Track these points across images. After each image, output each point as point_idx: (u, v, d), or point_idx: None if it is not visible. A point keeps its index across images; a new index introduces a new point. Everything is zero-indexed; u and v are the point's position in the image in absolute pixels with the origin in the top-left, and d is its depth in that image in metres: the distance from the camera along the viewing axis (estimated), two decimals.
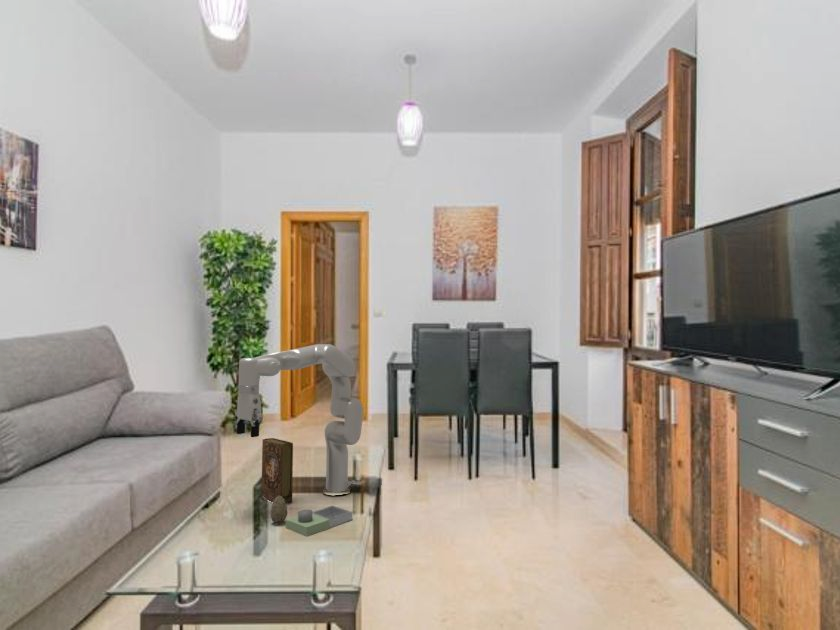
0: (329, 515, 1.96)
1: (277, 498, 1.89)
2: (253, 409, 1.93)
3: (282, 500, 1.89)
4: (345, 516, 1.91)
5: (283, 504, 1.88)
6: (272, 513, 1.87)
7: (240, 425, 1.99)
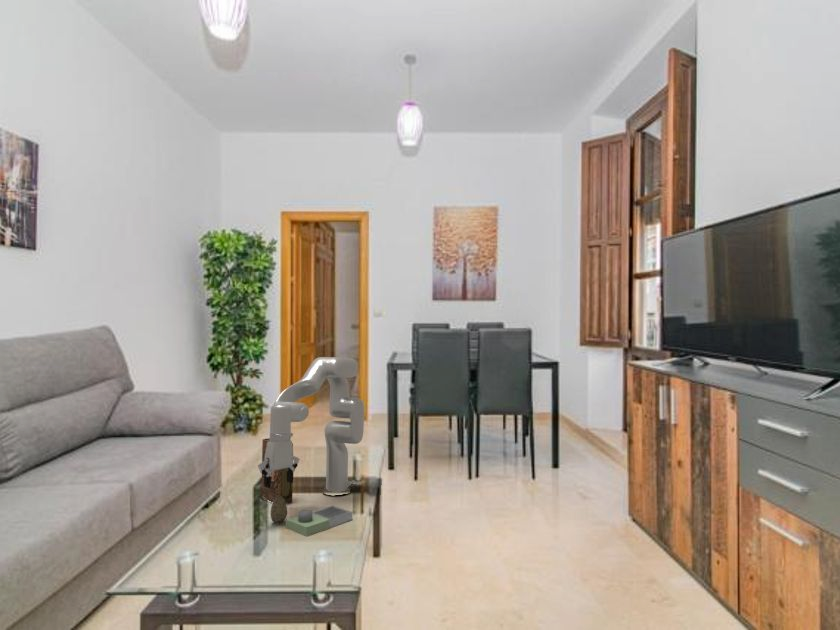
0: (329, 515, 1.96)
1: (277, 498, 1.89)
2: None
3: (282, 500, 1.89)
4: (345, 516, 1.91)
5: (283, 504, 1.88)
6: (272, 513, 1.87)
7: None
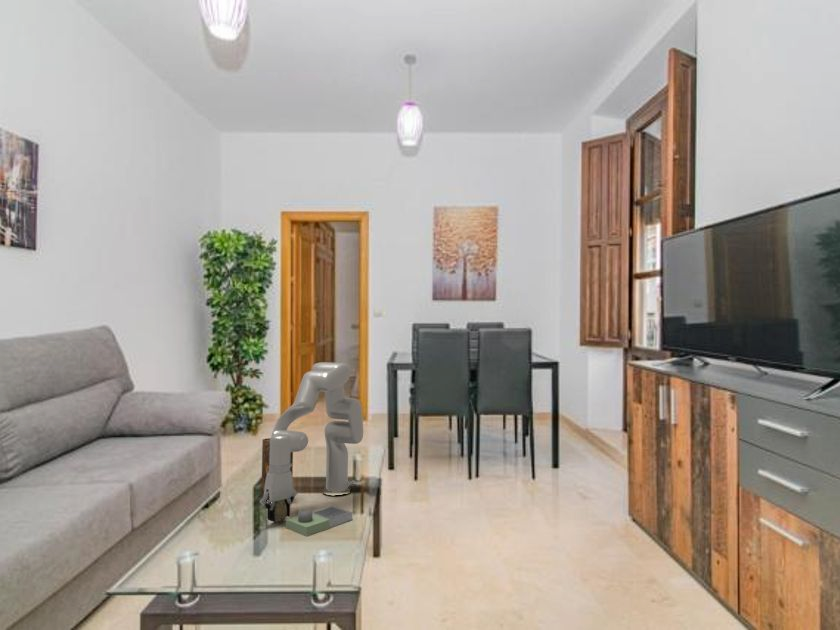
0: (329, 515, 1.96)
1: None
2: None
3: (282, 500, 1.89)
4: (345, 516, 1.91)
5: (283, 504, 1.88)
6: None
7: None
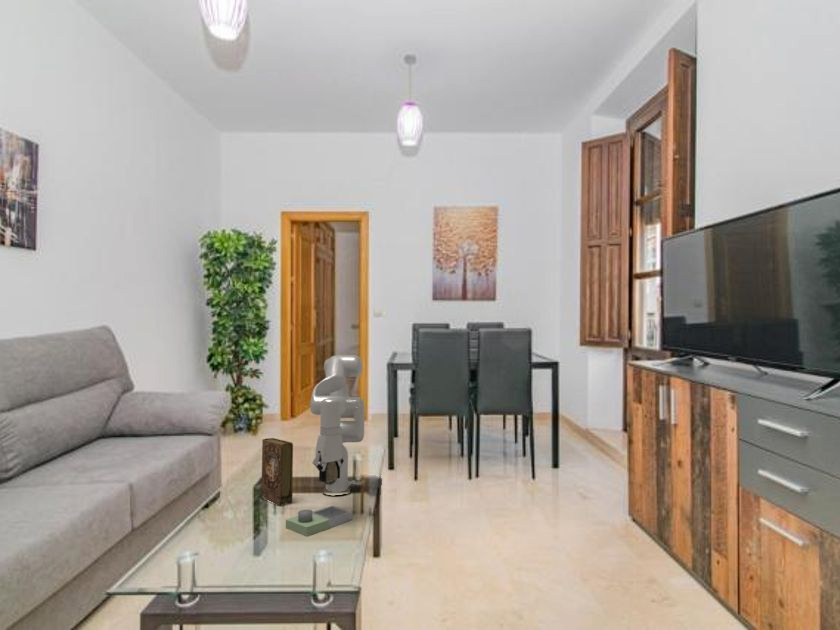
0: (329, 515, 1.96)
1: None
2: None
3: (333, 462, 1.93)
4: (345, 516, 1.91)
5: (334, 466, 1.93)
6: None
7: None
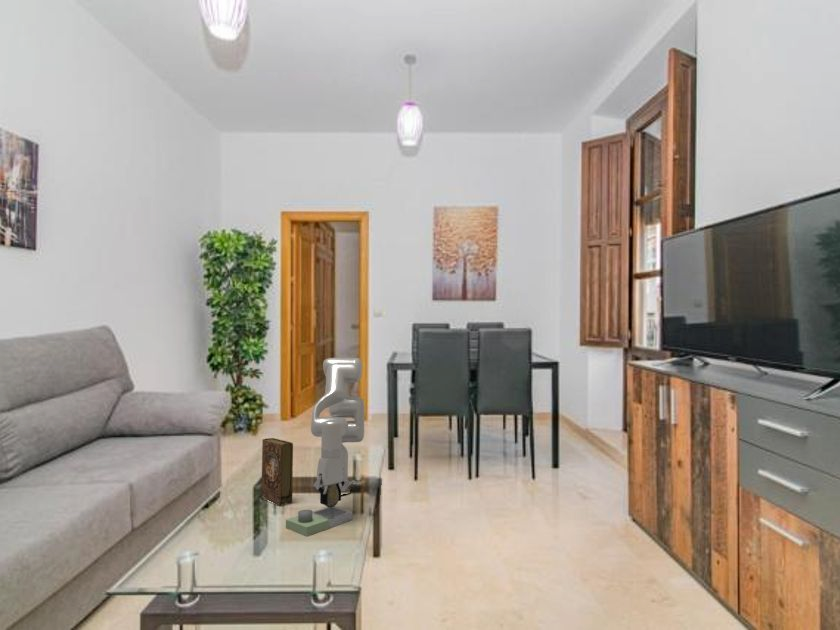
0: (329, 515, 1.96)
1: None
2: None
3: (334, 484, 1.92)
4: (345, 516, 1.91)
5: (335, 488, 1.92)
6: None
7: None
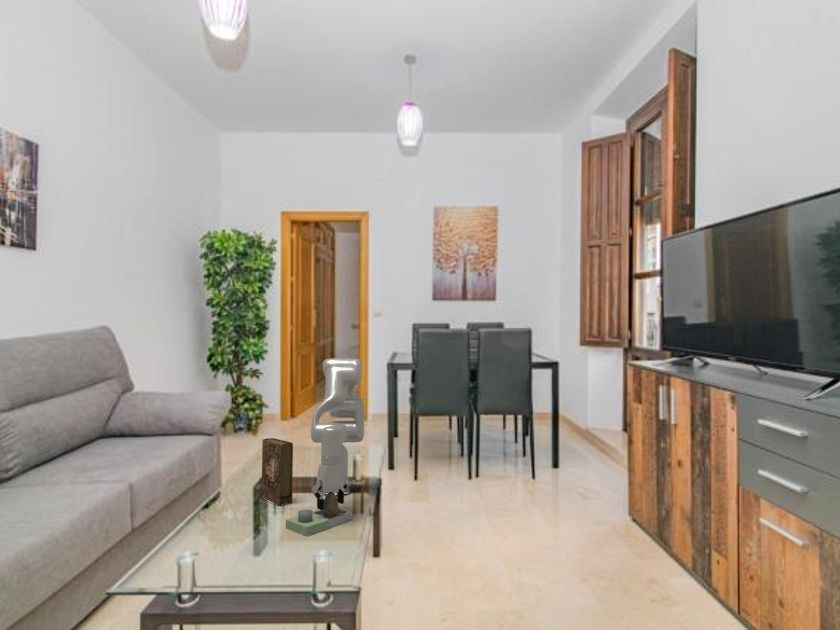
0: None
1: (329, 494, 1.92)
2: None
3: (334, 496, 1.92)
4: (345, 516, 1.91)
5: (335, 500, 1.92)
6: (324, 508, 1.90)
7: None
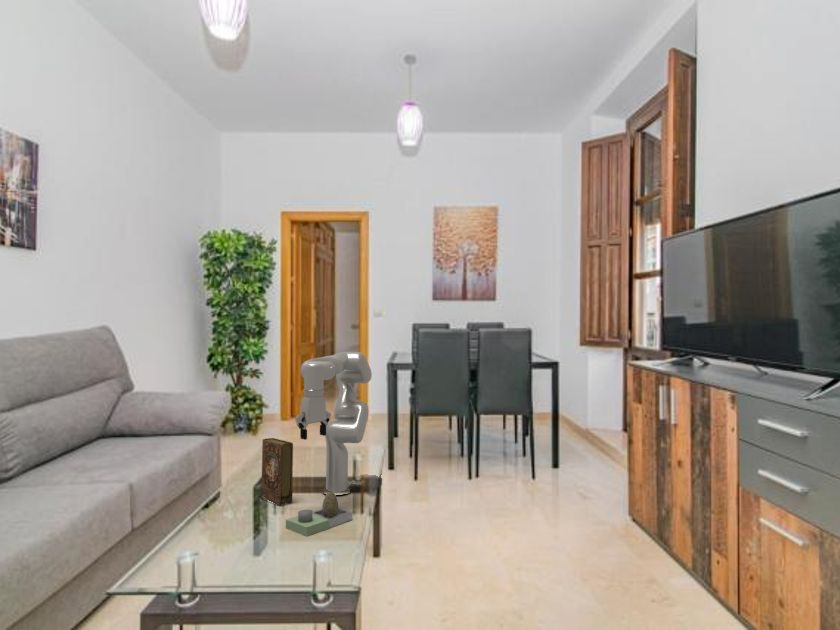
0: None
1: (329, 494, 1.92)
2: None
3: (334, 496, 1.92)
4: (345, 516, 1.91)
5: (335, 500, 1.92)
6: (324, 509, 1.91)
7: None
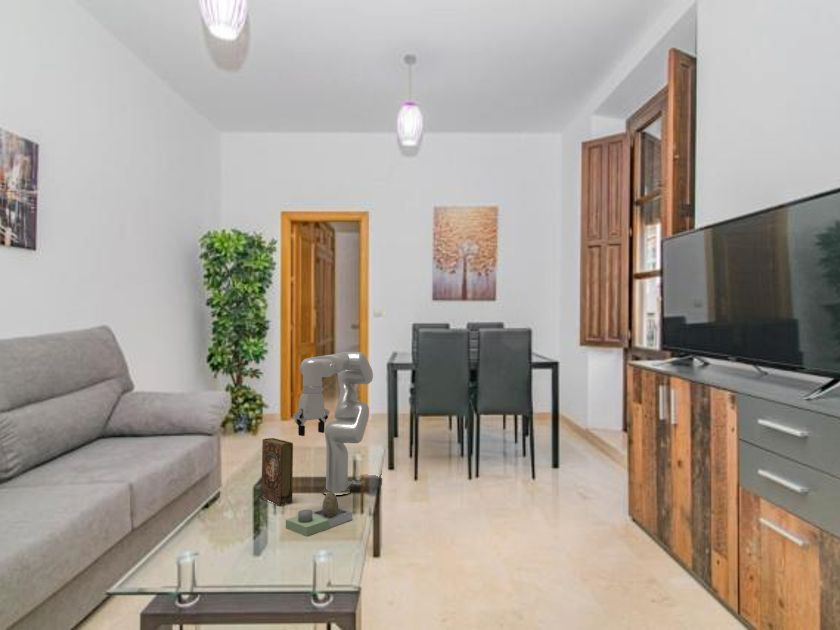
0: None
1: (329, 494, 1.92)
2: None
3: (334, 496, 1.92)
4: (345, 516, 1.91)
5: (335, 500, 1.92)
6: (324, 509, 1.90)
7: None
